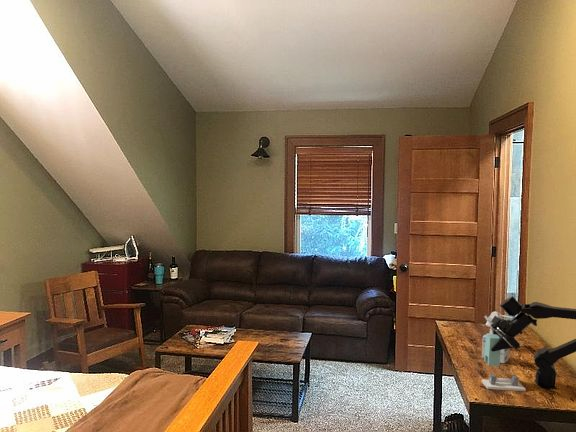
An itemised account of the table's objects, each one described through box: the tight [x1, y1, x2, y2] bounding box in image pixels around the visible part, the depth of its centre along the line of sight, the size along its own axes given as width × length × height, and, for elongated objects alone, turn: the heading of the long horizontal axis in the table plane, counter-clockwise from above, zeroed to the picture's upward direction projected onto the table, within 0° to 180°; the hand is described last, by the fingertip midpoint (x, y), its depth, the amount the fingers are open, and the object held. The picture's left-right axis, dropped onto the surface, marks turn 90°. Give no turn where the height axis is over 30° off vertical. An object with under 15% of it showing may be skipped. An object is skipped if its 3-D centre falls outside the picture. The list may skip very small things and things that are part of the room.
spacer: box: [483, 333, 501, 367], centre depth 198 cm, size 4×5×12 cm
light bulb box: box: [481, 333, 510, 364], centre depth 222 cm, size 11×7×11 cm, turn 47°
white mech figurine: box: [483, 311, 514, 334], centre depth 238 cm, size 12×13×18 cm
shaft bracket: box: [481, 373, 527, 392], centre depth 192 cm, size 15×7×4 cm, turn 86°
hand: (489, 348), depth 198 cm, fingers closed on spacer, 5 cm apart
